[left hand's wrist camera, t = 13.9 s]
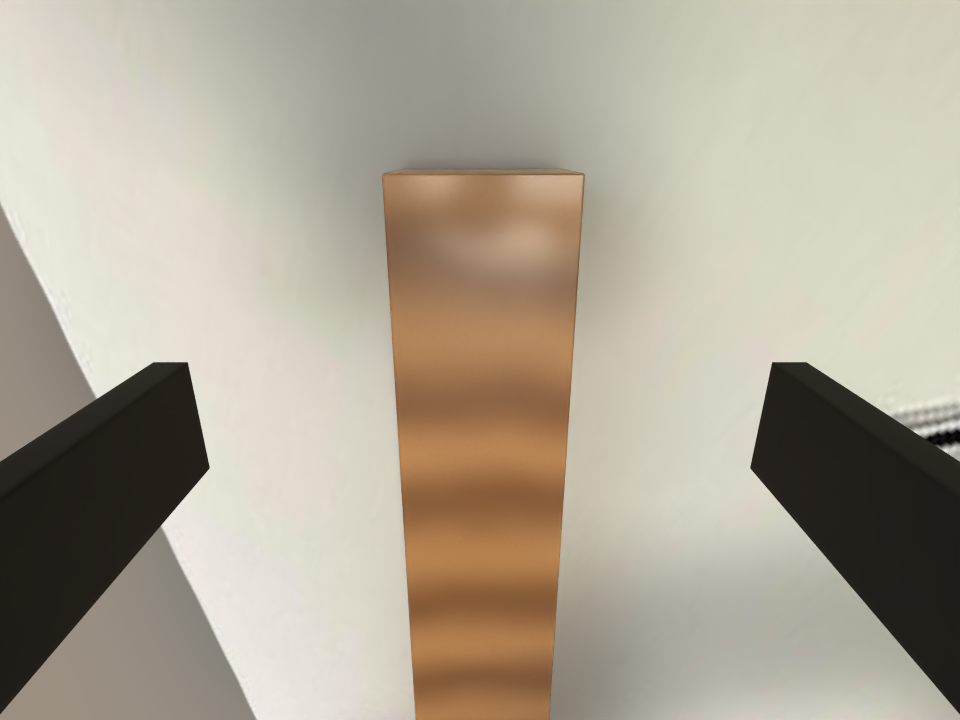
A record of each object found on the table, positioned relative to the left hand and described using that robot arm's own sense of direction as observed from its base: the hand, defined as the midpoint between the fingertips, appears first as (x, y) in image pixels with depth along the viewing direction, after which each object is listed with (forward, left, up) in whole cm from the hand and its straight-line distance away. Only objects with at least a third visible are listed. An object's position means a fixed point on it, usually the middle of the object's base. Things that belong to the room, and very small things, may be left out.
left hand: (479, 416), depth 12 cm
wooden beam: (+22, -5, -25) cm, 34 cm away
